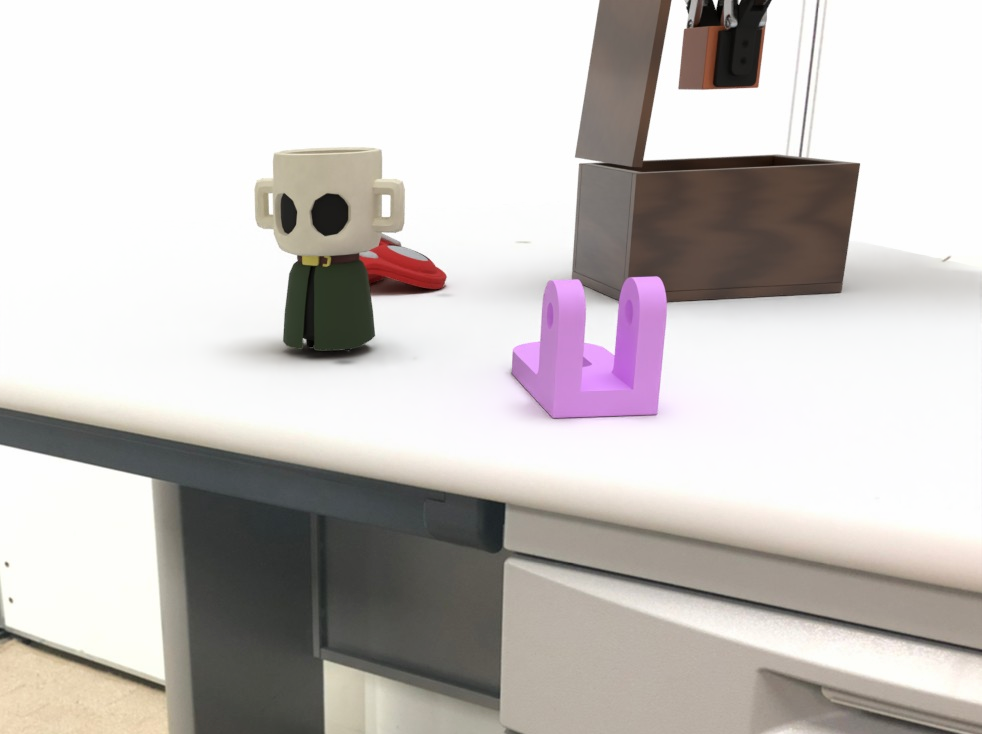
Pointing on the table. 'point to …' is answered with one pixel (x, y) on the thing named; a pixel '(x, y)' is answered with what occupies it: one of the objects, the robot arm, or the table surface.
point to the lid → (622, 80)
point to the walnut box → (716, 225)
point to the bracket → (596, 353)
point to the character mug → (328, 239)
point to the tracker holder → (401, 265)
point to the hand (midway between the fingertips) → (718, 83)
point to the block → (704, 59)
